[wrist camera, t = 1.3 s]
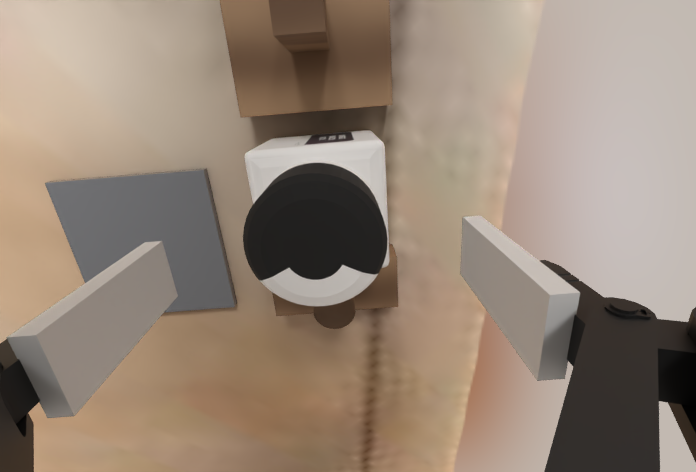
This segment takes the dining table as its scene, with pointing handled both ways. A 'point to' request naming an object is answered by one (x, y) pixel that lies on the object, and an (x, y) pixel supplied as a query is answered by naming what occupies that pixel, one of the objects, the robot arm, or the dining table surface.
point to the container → (317, 215)
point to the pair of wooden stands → (314, 87)
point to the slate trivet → (149, 229)
